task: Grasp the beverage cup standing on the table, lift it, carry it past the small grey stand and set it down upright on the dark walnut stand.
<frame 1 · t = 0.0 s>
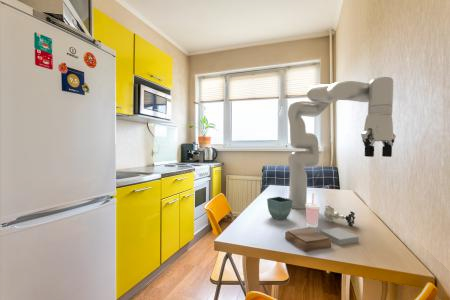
hand: (378, 156, 84), 31 cm above the table, tool pointing down, fingers open, 9 cm apart
grey stand: (338, 238, 83), on the table
walnut stand: (307, 242, 79), on the table
flower pot: (279, 218, 106), on the table
beverage cup: (312, 225, 96), on the table
valve: (337, 223, 100), on the table
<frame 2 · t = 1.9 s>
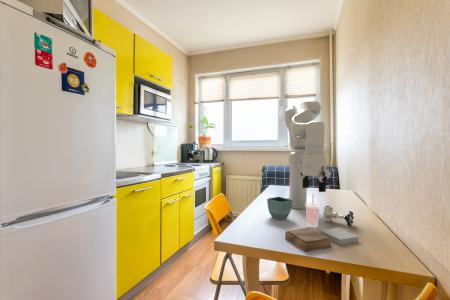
hand: (313, 189, 95), 16 cm above the table, tool pointing down, fingers open, 9 cm apart
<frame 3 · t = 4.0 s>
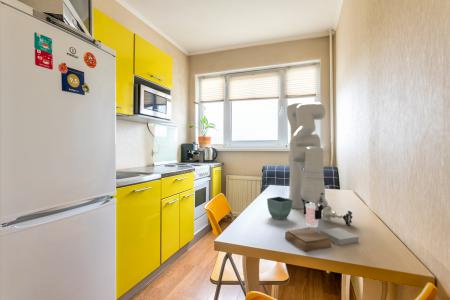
hand: (312, 216, 96), 4 cm above the table, tool pointing down, fingers closed on beverage cup, 6 cm apart
beverage cup: (312, 225, 96), on the table, touching gripper
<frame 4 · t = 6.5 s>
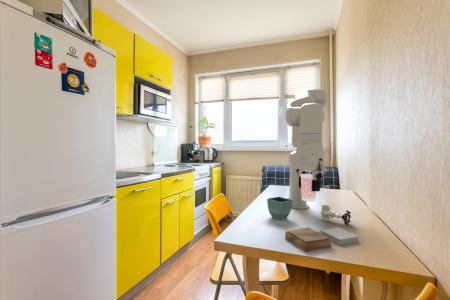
hand: (308, 188, 79), 19 cm above the table, tool pointing down, fingers closed on beverage cup, 6 cm apart
beverage cup: (308, 200, 79), point 15 cm above the table, touching gripper
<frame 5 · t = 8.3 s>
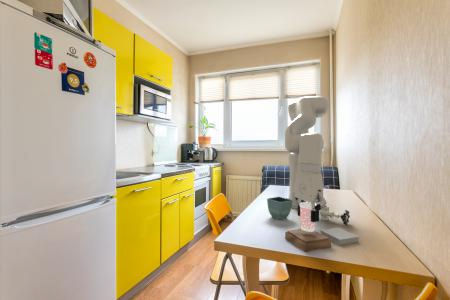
hand: (307, 218, 79), 9 cm above the table, tool pointing down, fingers closed on beverage cup, 6 cm apart
beverage cup: (307, 229, 79), point 5 cm above the table, touching gripper
when the fingers open (8 cm above the table, at t = 9.4 s): beverage cup stays where it is, resting on walnut stand.
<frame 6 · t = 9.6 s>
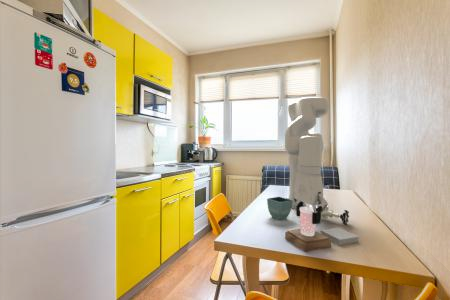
hand: (307, 219, 79), 8 cm above the table, tool pointing down, fingers open, 7 cm apart
beverage cup: (307, 234, 79), point 3 cm above the table, touching walnut stand
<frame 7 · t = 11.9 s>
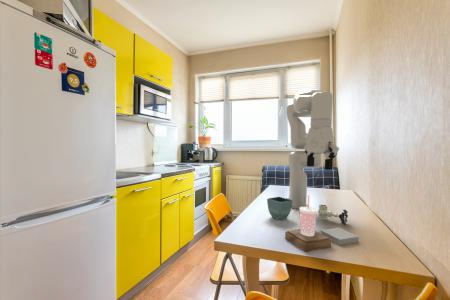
hand: (319, 167, 87), 26 cm above the table, tool pointing down, fingers open, 9 cm apart
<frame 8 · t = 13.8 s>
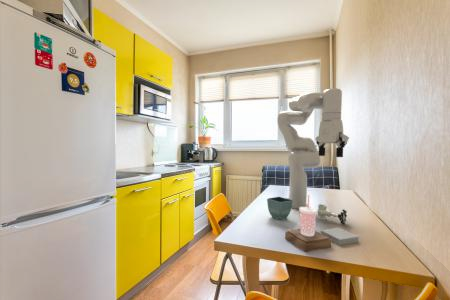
hand: (330, 156, 97), 30 cm above the table, tool pointing down, fingers open, 9 cm apart
at the end: beverage cup 0.3 cm from the walnut stand (horizontally); beverage cup tilted 0°; beverage cup touching walnut stand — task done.
